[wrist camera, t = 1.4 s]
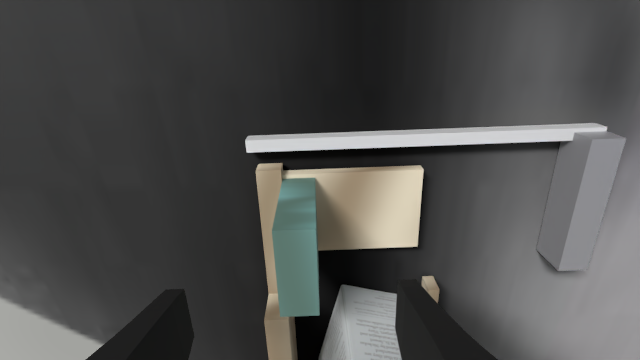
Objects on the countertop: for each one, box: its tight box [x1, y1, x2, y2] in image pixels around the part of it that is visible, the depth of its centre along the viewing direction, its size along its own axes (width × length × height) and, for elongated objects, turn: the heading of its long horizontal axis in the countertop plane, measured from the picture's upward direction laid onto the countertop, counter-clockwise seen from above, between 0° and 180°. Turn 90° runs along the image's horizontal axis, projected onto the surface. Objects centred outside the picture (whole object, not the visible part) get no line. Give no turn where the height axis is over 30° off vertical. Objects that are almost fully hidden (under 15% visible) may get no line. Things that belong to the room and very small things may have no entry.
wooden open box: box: [256, 163, 439, 360], centre depth 18 cm, size 9×15×6 cm, turn 2°
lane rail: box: [245, 123, 626, 271], centre depth 18 cm, size 17×7×2 cm, turn 92°
